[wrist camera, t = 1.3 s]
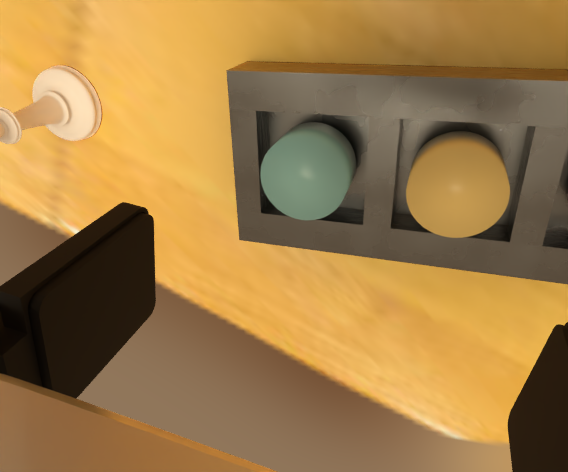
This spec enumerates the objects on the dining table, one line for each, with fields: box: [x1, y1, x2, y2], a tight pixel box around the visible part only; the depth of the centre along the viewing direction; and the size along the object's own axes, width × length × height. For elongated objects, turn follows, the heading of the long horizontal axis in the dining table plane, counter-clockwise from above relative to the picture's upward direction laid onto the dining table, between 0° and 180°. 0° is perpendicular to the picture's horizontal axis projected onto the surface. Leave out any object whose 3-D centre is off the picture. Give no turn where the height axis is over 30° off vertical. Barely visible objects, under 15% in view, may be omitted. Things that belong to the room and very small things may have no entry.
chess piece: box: [0, 65, 102, 144], centre depth 29 cm, size 5×5×10 cm
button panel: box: [227, 61, 568, 284], centre depth 26 cm, size 24×10×3 cm, turn 92°
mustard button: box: [406, 131, 510, 238], centre depth 24 cm, size 5×5×3 cm
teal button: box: [260, 122, 356, 220], centre depth 26 cm, size 5×5×3 cm
